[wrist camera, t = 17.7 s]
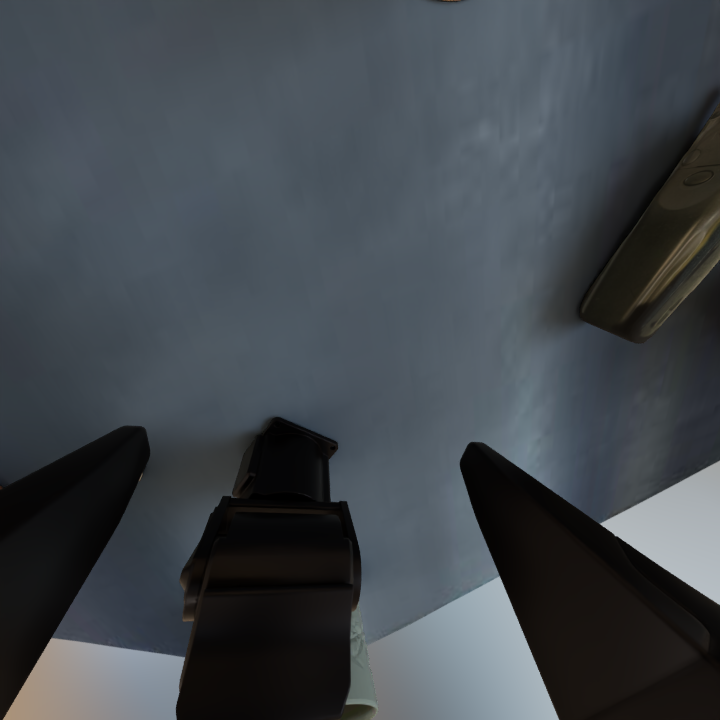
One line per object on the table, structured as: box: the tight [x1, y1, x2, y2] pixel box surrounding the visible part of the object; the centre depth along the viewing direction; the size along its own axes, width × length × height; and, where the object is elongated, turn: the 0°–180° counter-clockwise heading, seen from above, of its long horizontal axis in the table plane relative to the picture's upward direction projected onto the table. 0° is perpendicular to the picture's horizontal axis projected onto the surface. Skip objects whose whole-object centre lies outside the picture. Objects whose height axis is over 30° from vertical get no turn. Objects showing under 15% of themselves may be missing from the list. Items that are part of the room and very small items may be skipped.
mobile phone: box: [580, 103, 720, 343], centre depth 17 cm, size 5×3×15 cm
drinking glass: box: [340, 602, 378, 720], centre depth 31 cm, size 10×10×12 cm
